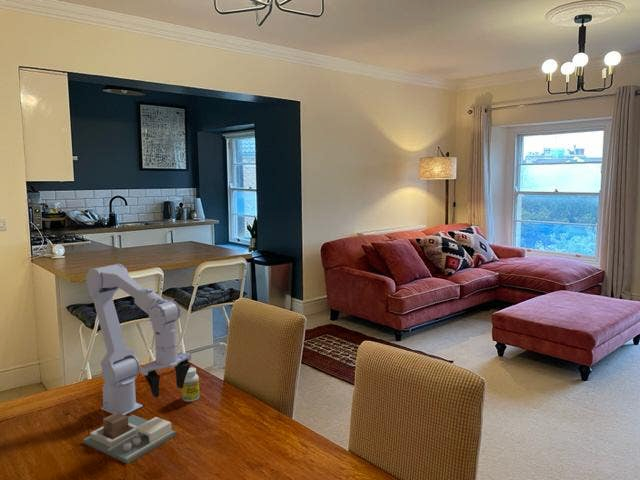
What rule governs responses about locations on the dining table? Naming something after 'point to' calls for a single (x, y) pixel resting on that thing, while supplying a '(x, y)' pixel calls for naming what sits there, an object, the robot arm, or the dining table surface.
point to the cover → (154, 429)
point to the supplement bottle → (191, 386)
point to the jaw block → (115, 425)
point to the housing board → (125, 441)
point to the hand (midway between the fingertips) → (168, 391)
